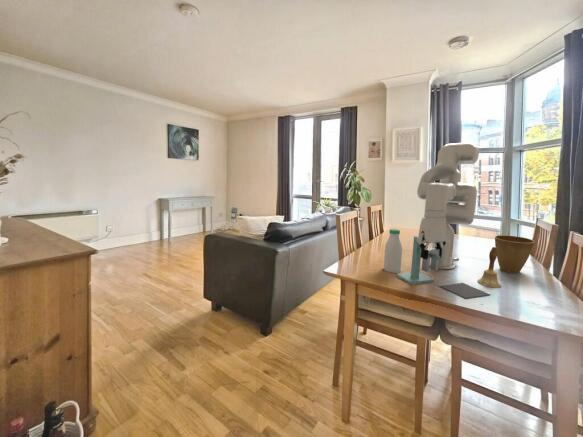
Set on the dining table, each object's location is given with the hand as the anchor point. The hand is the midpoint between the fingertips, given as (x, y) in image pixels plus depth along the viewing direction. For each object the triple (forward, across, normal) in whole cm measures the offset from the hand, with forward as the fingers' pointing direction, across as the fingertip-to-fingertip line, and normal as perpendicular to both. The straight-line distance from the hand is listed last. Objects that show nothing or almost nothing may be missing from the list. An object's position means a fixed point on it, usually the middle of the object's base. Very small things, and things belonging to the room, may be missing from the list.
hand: (430, 257), depth 112 cm
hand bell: (+12, -27, +5) cm, 30 cm away
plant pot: (+12, -53, -5) cm, 55 cm away
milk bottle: (+12, +3, -20) cm, 24 cm away
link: (+5, 0, 0) cm, 5 cm away
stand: (+12, 0, -5) cm, 13 cm away
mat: (+12, -10, +8) cm, 18 cm away
